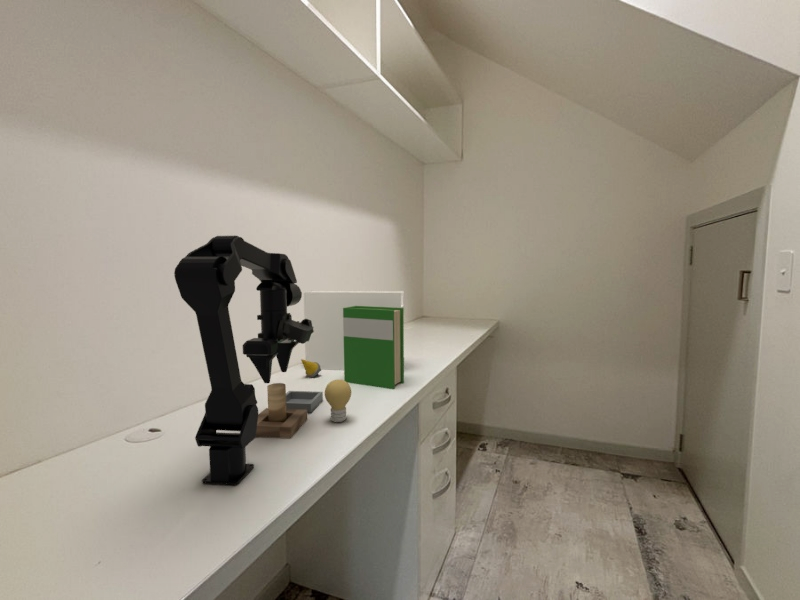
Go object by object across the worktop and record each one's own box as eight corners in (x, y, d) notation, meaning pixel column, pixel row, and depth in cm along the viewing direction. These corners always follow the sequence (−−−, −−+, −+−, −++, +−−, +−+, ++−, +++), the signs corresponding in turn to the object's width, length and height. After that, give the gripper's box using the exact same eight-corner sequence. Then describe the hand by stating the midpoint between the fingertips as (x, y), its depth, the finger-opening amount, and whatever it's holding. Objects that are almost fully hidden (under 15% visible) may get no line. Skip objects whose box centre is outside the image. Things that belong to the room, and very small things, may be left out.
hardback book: (403, 382, 126) (403, 307, 124) (393, 389, 120) (392, 310, 117) (356, 376, 134) (355, 305, 132) (344, 382, 127) (343, 308, 125)
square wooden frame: (290, 438, 86) (290, 427, 86) (245, 436, 87) (244, 425, 87) (307, 419, 97) (307, 409, 96) (266, 418, 98) (266, 408, 98)
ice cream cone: (325, 378, 134) (307, 362, 127) (311, 383, 135) (293, 368, 128) (325, 365, 138) (308, 349, 131) (312, 371, 139) (294, 356, 132)
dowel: (282, 431, 90) (281, 388, 89) (265, 430, 90) (264, 388, 89) (289, 424, 94) (288, 383, 93) (273, 423, 94) (271, 382, 93)
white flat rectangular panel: (305, 369, 144) (303, 292, 141) (314, 363, 152) (312, 290, 149) (400, 372, 138) (400, 292, 135) (404, 366, 146) (403, 291, 143)
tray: (311, 413, 101) (310, 403, 100) (275, 412, 102) (274, 402, 101) (322, 400, 110) (322, 391, 110) (289, 399, 111) (289, 390, 111)
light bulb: (350, 425, 93) (350, 383, 92) (323, 426, 93) (322, 384, 92) (352, 415, 99) (352, 376, 98) (327, 415, 99) (326, 376, 98)
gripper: (292, 315, 79) (294, 390, 81) (321, 305, 98) (322, 367, 99) (239, 314, 81) (242, 389, 82) (278, 305, 99) (279, 366, 100)
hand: (276, 377), depth 91 cm, fingers open, 9 cm apart
